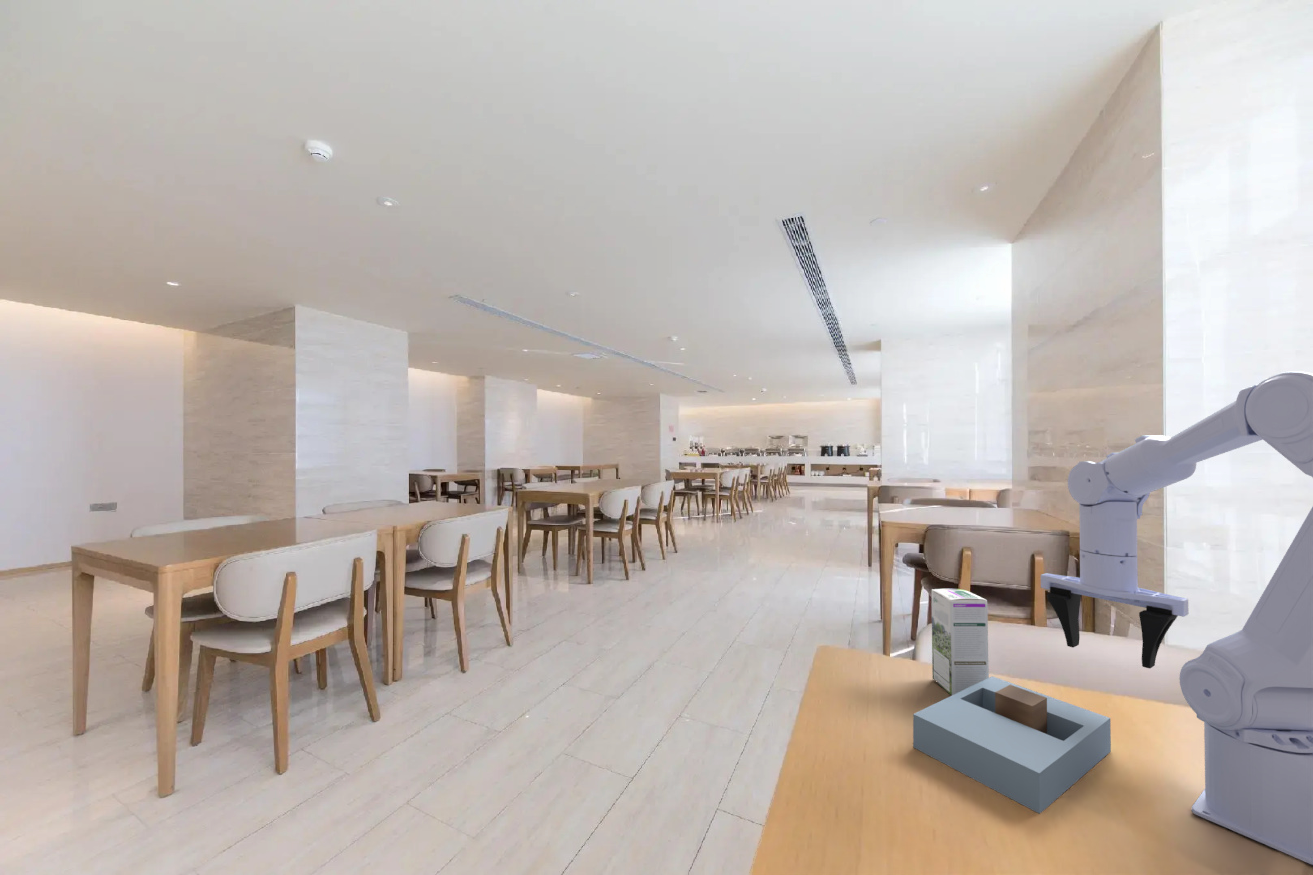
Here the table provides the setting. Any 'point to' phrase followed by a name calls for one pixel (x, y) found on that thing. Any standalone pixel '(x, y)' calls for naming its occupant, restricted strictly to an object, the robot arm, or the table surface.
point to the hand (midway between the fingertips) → (1108, 655)
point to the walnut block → (1022, 707)
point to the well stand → (1012, 743)
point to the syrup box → (959, 639)
